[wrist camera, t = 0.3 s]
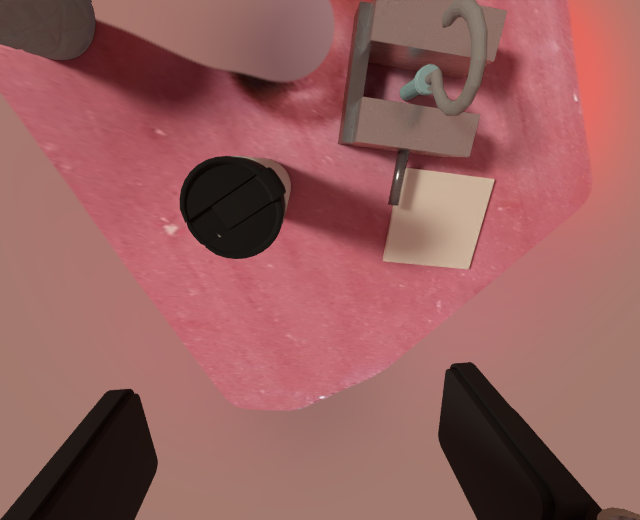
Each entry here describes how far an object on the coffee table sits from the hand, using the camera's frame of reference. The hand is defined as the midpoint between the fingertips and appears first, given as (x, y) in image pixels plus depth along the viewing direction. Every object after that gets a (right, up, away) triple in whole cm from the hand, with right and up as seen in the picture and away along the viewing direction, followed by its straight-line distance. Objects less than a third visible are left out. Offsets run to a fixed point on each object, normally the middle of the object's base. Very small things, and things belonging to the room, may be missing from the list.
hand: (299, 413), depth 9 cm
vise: (+10, +21, +26) cm, 34 cm away
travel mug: (-6, +14, +27) cm, 31 cm away
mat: (+16, +10, +30) cm, 35 cm away
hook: (+10, +24, +25) cm, 36 cm away
